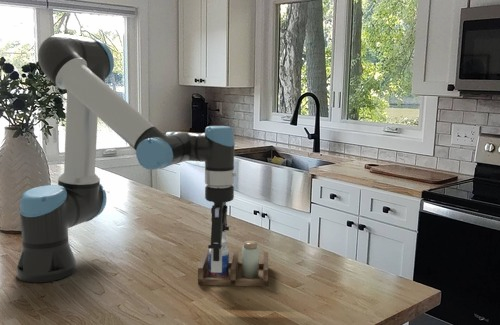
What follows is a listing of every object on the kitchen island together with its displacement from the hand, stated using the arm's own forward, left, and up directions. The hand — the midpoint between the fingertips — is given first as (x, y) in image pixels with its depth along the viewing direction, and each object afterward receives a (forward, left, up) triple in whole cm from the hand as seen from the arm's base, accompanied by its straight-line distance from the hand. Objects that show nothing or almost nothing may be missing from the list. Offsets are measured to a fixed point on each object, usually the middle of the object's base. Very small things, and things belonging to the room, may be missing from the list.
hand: (219, 262), depth 130 cm
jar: (+8, 0, -4) cm, 9 cm away
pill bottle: (0, 0, -4) cm, 4 cm away
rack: (+4, 0, -5) cm, 6 cm away
